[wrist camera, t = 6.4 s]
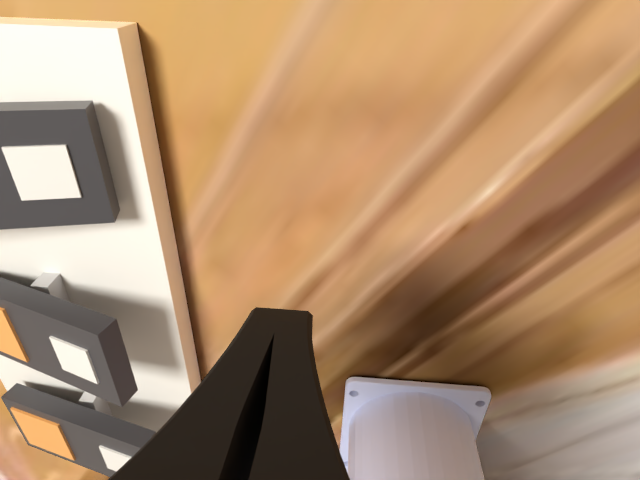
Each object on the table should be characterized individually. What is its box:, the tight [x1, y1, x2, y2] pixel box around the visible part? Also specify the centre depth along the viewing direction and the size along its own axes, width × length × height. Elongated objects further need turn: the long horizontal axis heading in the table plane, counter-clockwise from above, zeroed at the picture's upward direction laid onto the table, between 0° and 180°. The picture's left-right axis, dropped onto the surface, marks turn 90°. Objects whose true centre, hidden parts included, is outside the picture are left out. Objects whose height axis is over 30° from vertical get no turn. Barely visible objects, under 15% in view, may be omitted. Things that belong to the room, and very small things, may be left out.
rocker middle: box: [0, 277, 138, 407], centre depth 20 cm, size 4×9×1 cm, turn 89°
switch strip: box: [0, 17, 201, 433], centre depth 22 cm, size 25×11×2 cm, turn 179°
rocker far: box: [1, 383, 156, 477], centre depth 24 cm, size 4×9×1 cm, turn 89°
